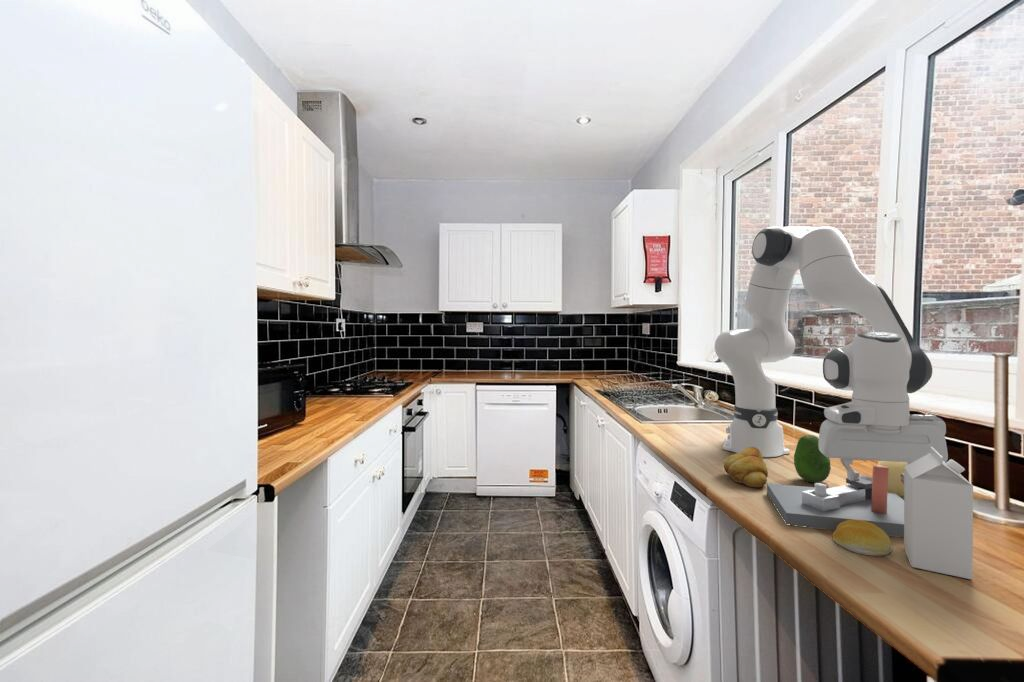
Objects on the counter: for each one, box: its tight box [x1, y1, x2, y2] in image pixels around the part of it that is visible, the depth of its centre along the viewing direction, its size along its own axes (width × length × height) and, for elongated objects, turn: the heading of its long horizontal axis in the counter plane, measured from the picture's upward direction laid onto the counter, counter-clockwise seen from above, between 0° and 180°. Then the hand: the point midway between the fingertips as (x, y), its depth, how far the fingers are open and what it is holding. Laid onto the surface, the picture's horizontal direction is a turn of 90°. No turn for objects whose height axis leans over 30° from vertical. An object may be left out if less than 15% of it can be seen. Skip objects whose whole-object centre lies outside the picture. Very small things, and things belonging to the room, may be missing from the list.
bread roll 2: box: [832, 520, 893, 557], centre depth 80 cm, size 8×9×4 cm
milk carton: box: [903, 447, 974, 580], centre depth 73 cm, size 7×7×19 cm
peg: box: [871, 464, 888, 514], centre depth 88 cm, size 2×2×9 cm
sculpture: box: [876, 461, 908, 499], centre depth 101 cm, size 12×12×11 cm
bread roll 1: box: [723, 447, 769, 488], centre depth 113 cm, size 13×10×8 cm
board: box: [766, 475, 904, 538], centre depth 92 cm, size 17×25×7 cm
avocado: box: [793, 434, 832, 483], centre depth 111 cm, size 8×8×12 cm
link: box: [802, 483, 865, 512], centre depth 92 cm, size 13×5×2 cm, turn 108°
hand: (880, 482), depth 88 cm, fingers open, 8 cm apart
